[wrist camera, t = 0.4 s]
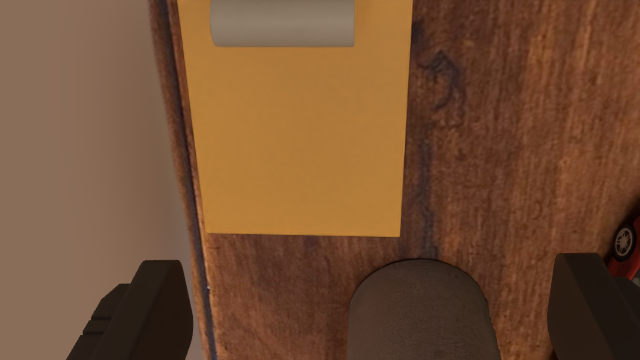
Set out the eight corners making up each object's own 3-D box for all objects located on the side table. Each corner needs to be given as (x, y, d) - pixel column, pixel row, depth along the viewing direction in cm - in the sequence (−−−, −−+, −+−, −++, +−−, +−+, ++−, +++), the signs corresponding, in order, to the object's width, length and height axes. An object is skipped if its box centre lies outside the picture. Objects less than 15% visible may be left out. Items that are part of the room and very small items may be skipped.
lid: (175, -57, 24) (134, -40, 20) (414, -59, 24) (426, -42, 19) (208, 225, 31) (183, 285, 26) (398, 228, 30) (405, 291, 26)
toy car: (726, 207, 37) (777, 254, 32) (603, 378, 43) (631, 436, 39) (643, 182, 36) (682, 226, 32) (532, 359, 43) (552, 415, 39)
